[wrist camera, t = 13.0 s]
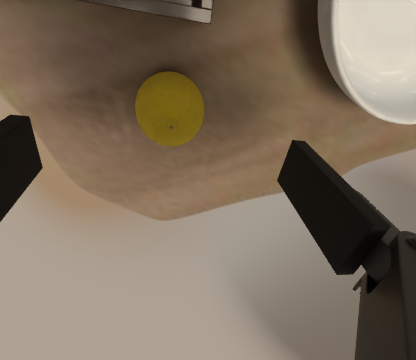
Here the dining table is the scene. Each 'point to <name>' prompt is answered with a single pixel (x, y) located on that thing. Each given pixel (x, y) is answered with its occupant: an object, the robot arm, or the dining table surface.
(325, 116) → the dining table surface
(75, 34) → the dining table surface
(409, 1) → the serving bowl
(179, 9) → the tray
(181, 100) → the lemon
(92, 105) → the dining table surface
